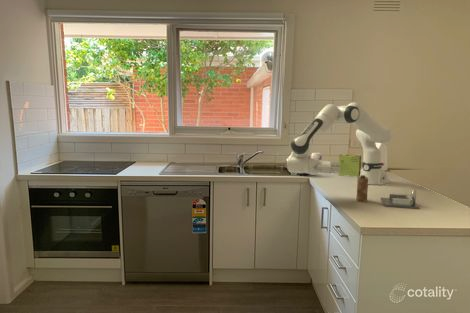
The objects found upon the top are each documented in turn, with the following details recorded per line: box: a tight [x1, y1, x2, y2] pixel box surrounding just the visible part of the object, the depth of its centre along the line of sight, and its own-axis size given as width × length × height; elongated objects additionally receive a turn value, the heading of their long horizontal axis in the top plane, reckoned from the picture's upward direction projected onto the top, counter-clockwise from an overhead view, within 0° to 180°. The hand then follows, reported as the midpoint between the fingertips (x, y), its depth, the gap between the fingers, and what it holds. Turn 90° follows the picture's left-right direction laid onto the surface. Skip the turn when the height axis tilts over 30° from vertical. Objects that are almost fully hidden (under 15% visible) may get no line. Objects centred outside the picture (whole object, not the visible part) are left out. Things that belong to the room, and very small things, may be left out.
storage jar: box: [296, 155, 311, 177], centre depth 245 cm, size 10×10×15 cm
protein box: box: [337, 153, 362, 178], centre depth 244 cm, size 10×15×16 cm
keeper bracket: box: [380, 189, 420, 210], centre depth 169 cm, size 16×14×8 cm
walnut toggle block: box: [356, 175, 369, 203], centre depth 175 cm, size 5×5×14 cm
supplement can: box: [310, 152, 323, 160], centre depth 260 cm, size 8×8×15 cm
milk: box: [375, 143, 388, 172], centre depth 264 cm, size 12×12×26 cm
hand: (339, 167), depth 176 cm, fingers open, 8 cm apart
